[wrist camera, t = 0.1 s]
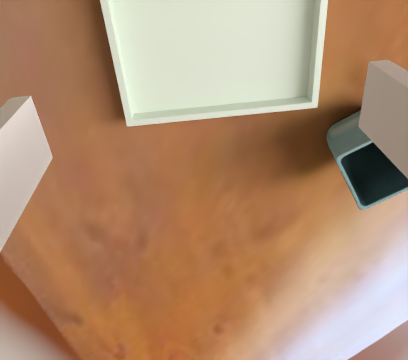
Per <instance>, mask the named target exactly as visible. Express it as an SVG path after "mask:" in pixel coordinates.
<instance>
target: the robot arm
mask: <svg viewBox="0 0 408 360" xmlns="http://www.w3.org/2000/svg"><path fill="white" fill-rule="evenodd" d="M358 127H359V128H360V129H361V130H362V131H363V132H364V133H365V134H366V135H367V136H368V137H369V138H370V139H371V140H372V141H373V143H374V144H375V145H376V146H377V147H378V148H379V149H380V150H381V151H382V152H383V153H384V154H385V155H386V156H387V157H388V158H389V159H390V161H391V162H392V163H393V164H394V165H395V166H396V167H397V168H398V169H399V170H400V171H401V172H402V173H403V174H404V175H405V176H406V177H407V179H408V71H407V70H405V69H403V68H402V67H400V66H398V65H397V64H395V63H393V62H392V61H390V60H381V61H371V62H369V65H368V71H367V77H366V83H365V89H364V95H363V101H362V107H361V113H360V119H359V125H358ZM52 158H53V156H52V154H51V151H50V148H49V145H48V142H47V140H46V137H45V134H44V131H43V128H42V126H41V123H40V120H39V117H38V114H37V112H36V109H35V106H34V103H33V101H32V98H31V96H23V97H13V98H10V99H9V100H8V101H7V102H6V103H5V104H4V105H3V106H2V107H1V108H0V252H1V250H2V248H3V246H4V245H5V243H6V241H7V239H8V237H9V236H10V234H11V232H12V230H13V228H14V227H15V225H16V223H17V221H18V219H19V218H20V216H21V214H22V212H23V210H24V209H25V207H26V205H27V203H28V201H29V200H30V198H31V196H32V194H33V192H34V191H35V189H36V187H37V185H38V183H39V181H40V180H41V178H42V176H43V174H44V172H45V171H46V169H47V167H48V165H49V163H50V162H51V160H52Z"/></svg>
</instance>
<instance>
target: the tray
mask: <svg viewBox="0 0 408 360" xmlns="http://www.w3.org/2000/svg"><path fill="white" fill-rule="evenodd" d="M100 3H101V7H102V12H103V17H104V21H105V26H106V31H107V35H108V40H109V45H110V49H111V54H112V58H113V63H114V68H115V72H116V77H117V82H118V86H119V91H120V96H121V100H122V105H123V110H124V114H125V119H126V124H127V126H137V125H147V124H157V123H167V122H178V121H188V120H198V119H208V118H218V117H228V116H238V115H248V114H258V113H268V112H278V111H288V110H298V109H308V108H317V107H318V96H319V86H320V76H321V66H322V56H323V45H324V35H325V25H326V15H327V5H328V0H100Z"/></svg>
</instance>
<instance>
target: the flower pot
mask: <svg viewBox="0 0 408 360" xmlns="http://www.w3.org/2000/svg"><path fill="white" fill-rule="evenodd" d="M360 113H361V110H360V111H358V112H356V113H354V114H352V115H350V116H349V117H347V118H345V119H343V120H341V121H339V122H337V123H335V124H334V125H332V126H331V127H330V128H329V130H328V132H327V136H326V138H327V143H328V146H329V148H330V150H331V152H332V154H333V157H334V159H335V161H336V163H337V165H338V167H339V169H340V171H341V173H342V175H343V177H344V179H345V181H346V183H347V185H348V187H349V189H350V191H351V193H352V195H353V197H354V199H355V201H356V203H357V205H358V207H359V209H361V210H365V209H367V208H370V207H372V206H374V205H376V204H378V203H380V202H382V201H384V200H387V199H389V198H391V197H393V196H395V195H397V194H399V193H402V192H404V191H406V190H408V179H407V177H406V176H405V175H404V174H403V173H402V172H401V171H400V170H399V169H398V168H397V167H396V166H395V165H394V164H393V163H392V162H391V161H390V159H389V158H388V157H387V156H386V155H385V154H384V153H383V152H382V151H381V150H380V149H379V148H378V147H377V146H376V145H375V144H374V143H373V141H372V140H371V139H370V138H369V137H368V136H367V135H366V134H365V133H364V132H363V131H362V130H361V129H360V128H359V127H358V125H359V119H360Z"/></svg>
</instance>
